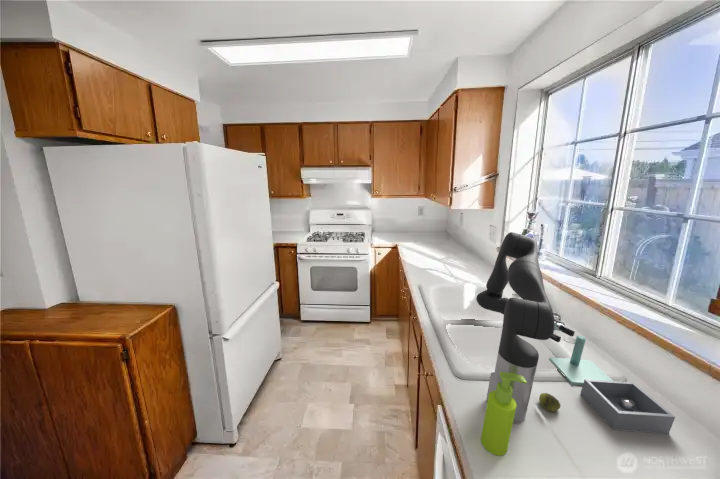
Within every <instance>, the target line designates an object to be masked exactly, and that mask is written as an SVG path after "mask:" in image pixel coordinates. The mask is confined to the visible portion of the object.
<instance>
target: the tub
mask: <svg viewBox="0 0 720 479" xmlns="http://www.w3.org/2000/svg"><path fill="white" fill-rule="evenodd" d="M580 395H581V396H582V397H583V398H584V399H585V401H587V403H588V404H589V405H590V406H591V407H592V408H593V409H594V410H595V411H596V413H598V415H599V416H600V417H601V418H602V419H603V420H604V421H605V423H607V425H609V427H610V428H611V429H612V430H615V431H627V432H628V431H629V432H643V433H657V434H658V433H659V434H670V432H671V430H672V427H673V424H674V422H675V418H676V416H674V414H672V413H671V412H670V411H669V410H667V409H666V408H665V407H664V406H662V405H661V404H660V403H659V402H658V401H656V400H655V399H654V398H653V397H652V396H651V395H649V394H648V393H647V392H646V391H645V390H643V389H642V388H641V387H639V386H638V385H637V384H636V383H635V382H634V381H620V380H619V381H618V380H617V381H616V380H613V381H605V380H589V379H585V380H584V383H583V385H582V388H581V391H580ZM621 397H626V398H629V399H631V400H632V401H634V403H635V407H634V410H633V411H628V410H625V409H623V408H622V407H621V406H620V405H619V403H620V400H621ZM617 408H619V409H621V410H622V411H619V410H618V409H617Z"/></svg>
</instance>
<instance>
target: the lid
mask: <svg viewBox="0 0 720 479" xmlns="http://www.w3.org/2000/svg"><path fill="white" fill-rule="evenodd" d="M586 341H587V338H586V337H584V336H582V335H576V338H575V340H574V345H573V349H572V353H571V357H570V358H569V357H568V358H565V357H551V356H549V357H548V360H549V362H550V363H551V364H552V365H553V366H554V367H555V368H556V369H557V370H558V371H559V370H560V371H559V373H561V372H562V373H563V374H564V375H565V377H566V378H565V377H564V378H565V379H566V381H567V382H568V383H569V384H570V385H572V386H583V383H584V380H585V379H589V380H605V381H614V379H612V378H611V377H610V376H608V374H606V373H605V372H604V371H603V370H602V369H601V368H600V367H598V365H596V364H595V363H594V362H593V361H592V360H591V359H582V355H583V351H584V349H585V348H584V347H585V344H586Z"/></svg>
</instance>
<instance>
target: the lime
mask: <svg viewBox="0 0 720 479" xmlns="http://www.w3.org/2000/svg"><path fill="white" fill-rule="evenodd" d="M538 401H539V404H540V406H541V407H542V409H544V410H546V411H548V412H551V413H552V412H553V413H554V412H557V411H559V409H560V408H561V403H560V402H559V400H558V399H557V398H556V397H555V396H554V395H553V394H550V393H547V392H545V393H543V392H542V393H540V394H539V397H538Z"/></svg>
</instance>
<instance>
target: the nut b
mask: <svg viewBox="0 0 720 479" xmlns="http://www.w3.org/2000/svg"><path fill="white" fill-rule="evenodd" d="M619 405H620V406H621V407H622V408H623V409H625V410H628V411H633V410H634V407H635V403H634V401H632V400H631V399H629V398H626V397H621V400H620V403H619Z"/></svg>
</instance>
